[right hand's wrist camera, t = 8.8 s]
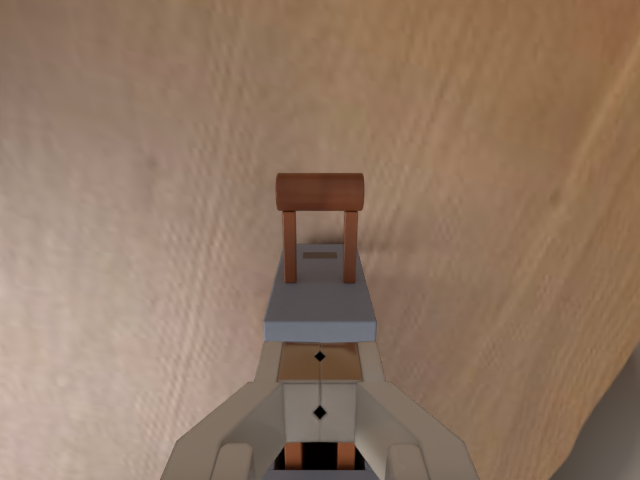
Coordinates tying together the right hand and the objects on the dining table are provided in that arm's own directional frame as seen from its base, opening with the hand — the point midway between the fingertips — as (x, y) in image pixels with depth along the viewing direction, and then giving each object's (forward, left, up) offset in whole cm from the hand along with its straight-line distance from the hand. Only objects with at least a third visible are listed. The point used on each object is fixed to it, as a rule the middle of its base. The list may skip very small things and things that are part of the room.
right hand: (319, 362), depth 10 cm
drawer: (+9, -2, -14) cm, 17 cm away
